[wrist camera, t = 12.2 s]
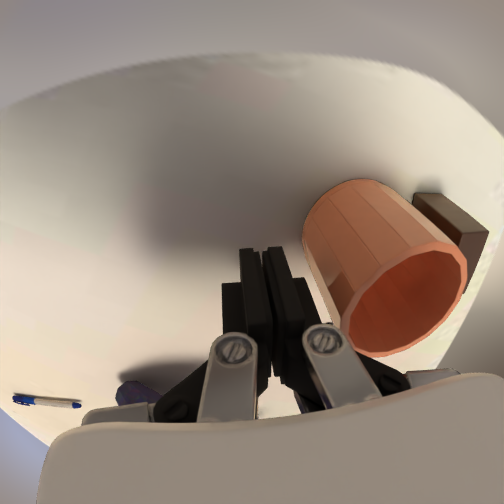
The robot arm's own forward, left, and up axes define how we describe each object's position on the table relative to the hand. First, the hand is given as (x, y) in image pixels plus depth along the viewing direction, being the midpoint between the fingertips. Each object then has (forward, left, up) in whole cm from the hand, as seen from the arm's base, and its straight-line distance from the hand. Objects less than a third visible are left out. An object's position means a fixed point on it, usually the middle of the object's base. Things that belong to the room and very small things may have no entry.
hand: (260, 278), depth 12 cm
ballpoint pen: (+23, -13, -2) cm, 27 cm away
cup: (-2, +4, -2) cm, 6 cm away
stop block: (-4, +8, -2) cm, 9 cm away
